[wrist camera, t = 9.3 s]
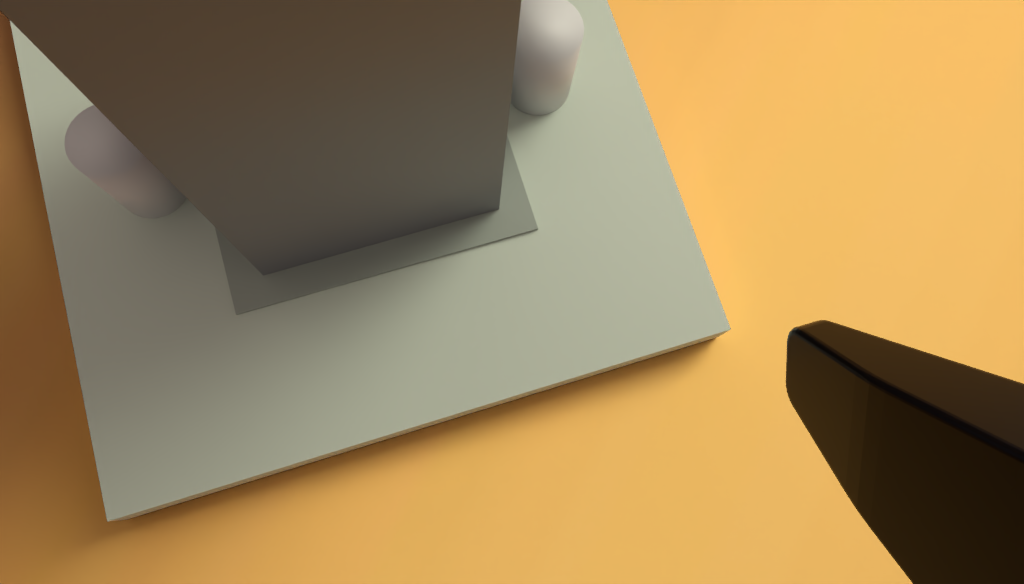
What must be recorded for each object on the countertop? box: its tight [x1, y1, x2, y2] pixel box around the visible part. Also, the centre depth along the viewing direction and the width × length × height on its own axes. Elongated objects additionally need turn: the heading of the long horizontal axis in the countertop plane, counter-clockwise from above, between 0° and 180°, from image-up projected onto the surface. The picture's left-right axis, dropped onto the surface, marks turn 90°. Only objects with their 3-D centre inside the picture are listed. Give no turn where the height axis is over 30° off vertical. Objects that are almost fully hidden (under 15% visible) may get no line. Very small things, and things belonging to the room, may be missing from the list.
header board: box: [10, 0, 731, 521], centre depth 18 cm, size 14×14×4 cm
